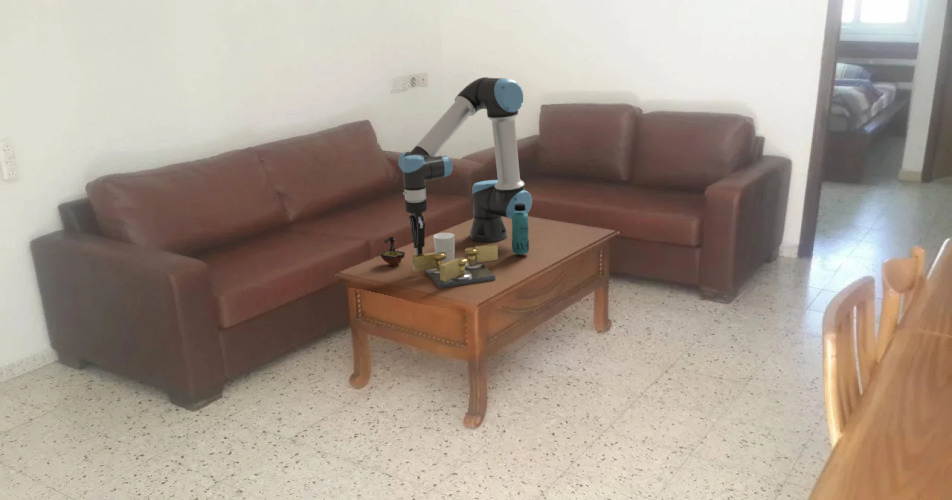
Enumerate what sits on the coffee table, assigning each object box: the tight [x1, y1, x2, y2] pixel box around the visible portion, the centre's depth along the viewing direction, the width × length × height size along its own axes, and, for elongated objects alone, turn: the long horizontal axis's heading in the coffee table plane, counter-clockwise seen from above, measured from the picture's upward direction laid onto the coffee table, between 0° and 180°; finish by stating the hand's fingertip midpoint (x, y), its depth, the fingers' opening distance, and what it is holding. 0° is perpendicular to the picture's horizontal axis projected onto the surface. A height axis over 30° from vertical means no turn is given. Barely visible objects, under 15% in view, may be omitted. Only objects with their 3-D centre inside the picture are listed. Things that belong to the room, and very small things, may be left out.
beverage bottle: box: [511, 203, 530, 255], centre depth 295 cm, size 6×7×20 cm
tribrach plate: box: [425, 261, 496, 289], centre depth 279 cm, size 20×18×3 cm
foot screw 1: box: [412, 251, 446, 272], centre depth 278 cm, size 12×5×6 cm, turn 109°
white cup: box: [433, 232, 456, 263], centre depth 294 cm, size 8×8×10 cm
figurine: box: [380, 234, 406, 267], centre depth 292 cm, size 10×8×12 cm
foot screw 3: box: [464, 243, 499, 265], centre depth 284 cm, size 12×5×6 cm, turn 109°
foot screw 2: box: [440, 257, 469, 281], centre depth 270 cm, size 12×5×6 cm, turn 139°
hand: (419, 263), depth 283 cm, fingers closed
